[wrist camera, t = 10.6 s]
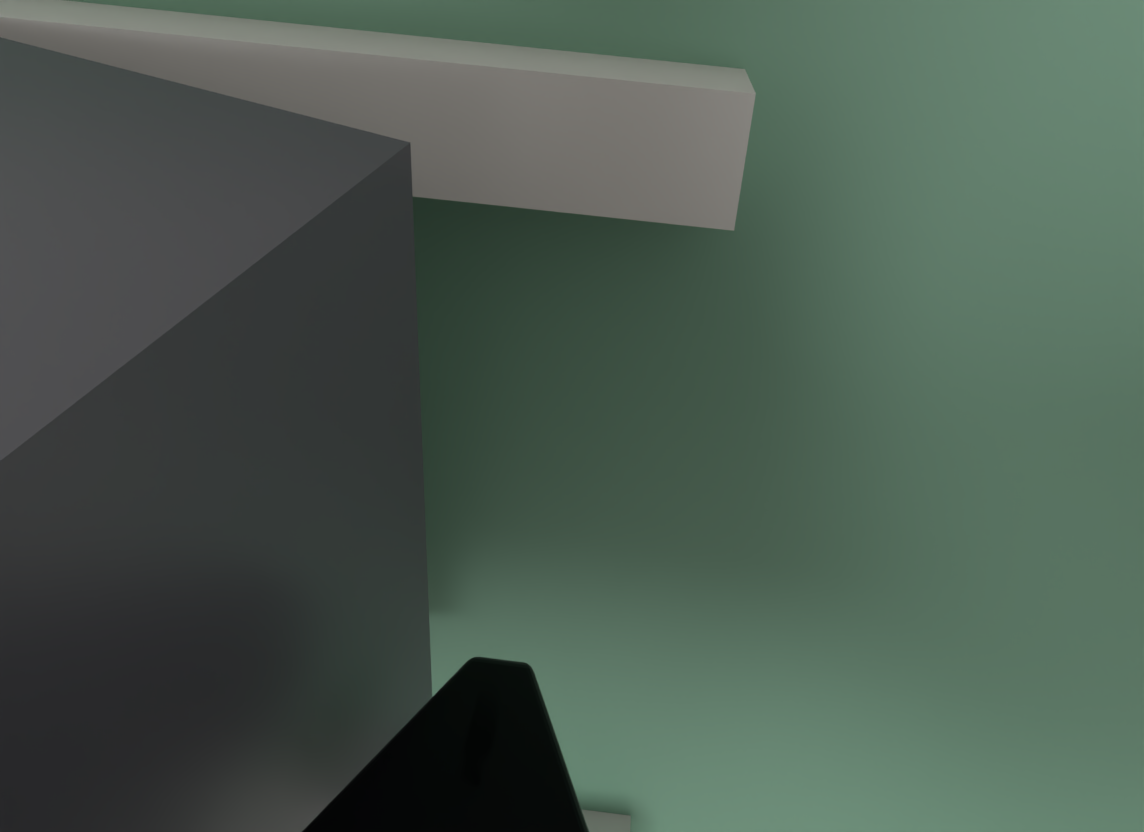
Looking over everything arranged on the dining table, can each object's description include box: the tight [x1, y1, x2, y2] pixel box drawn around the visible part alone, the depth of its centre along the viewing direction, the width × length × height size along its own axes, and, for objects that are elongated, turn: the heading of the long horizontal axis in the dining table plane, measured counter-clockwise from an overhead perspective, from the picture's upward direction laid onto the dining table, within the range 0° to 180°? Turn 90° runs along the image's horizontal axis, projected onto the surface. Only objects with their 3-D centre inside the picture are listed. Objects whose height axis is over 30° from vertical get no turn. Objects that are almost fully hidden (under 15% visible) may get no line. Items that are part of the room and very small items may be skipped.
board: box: [0, 0, 1144, 832], centre depth 9 cm, size 20×14×5 cm
